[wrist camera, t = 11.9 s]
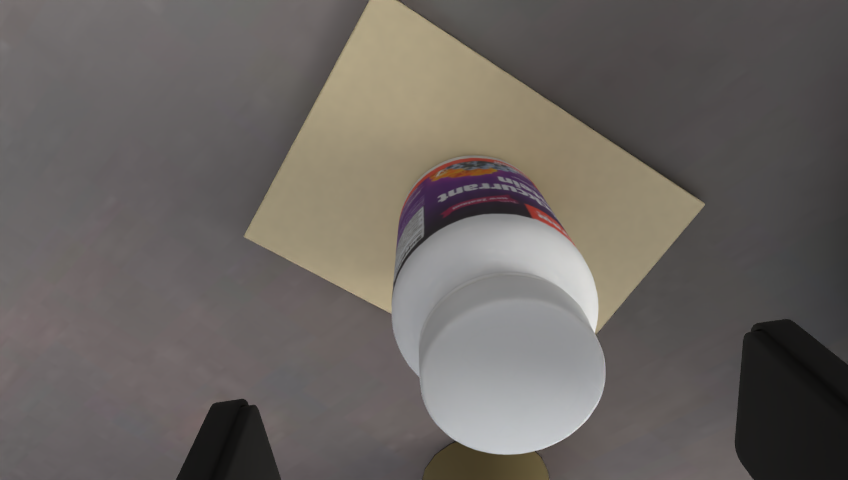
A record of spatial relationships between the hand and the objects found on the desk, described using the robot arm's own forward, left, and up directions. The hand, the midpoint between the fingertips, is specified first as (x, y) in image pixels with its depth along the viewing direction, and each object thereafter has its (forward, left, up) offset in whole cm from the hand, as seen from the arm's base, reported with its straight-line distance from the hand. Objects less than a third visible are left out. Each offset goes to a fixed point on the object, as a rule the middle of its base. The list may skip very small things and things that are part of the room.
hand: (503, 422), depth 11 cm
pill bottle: (0, 0, -11) cm, 11 cm away
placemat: (0, 0, -12) cm, 12 cm away
